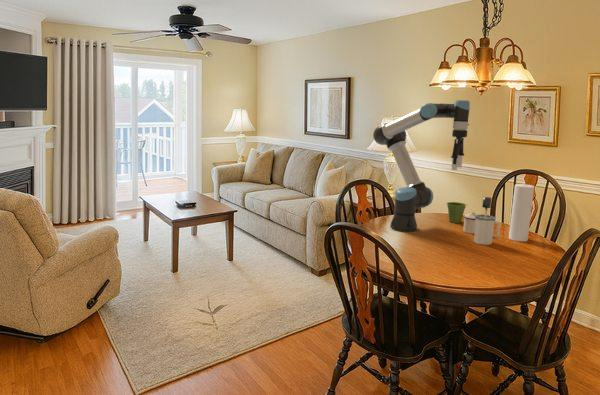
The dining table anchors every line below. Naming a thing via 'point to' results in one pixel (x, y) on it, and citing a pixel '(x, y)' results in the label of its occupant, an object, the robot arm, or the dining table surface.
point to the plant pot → (455, 211)
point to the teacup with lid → (469, 223)
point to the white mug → (485, 229)
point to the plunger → (486, 204)
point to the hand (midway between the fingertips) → (456, 168)
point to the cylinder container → (521, 212)
